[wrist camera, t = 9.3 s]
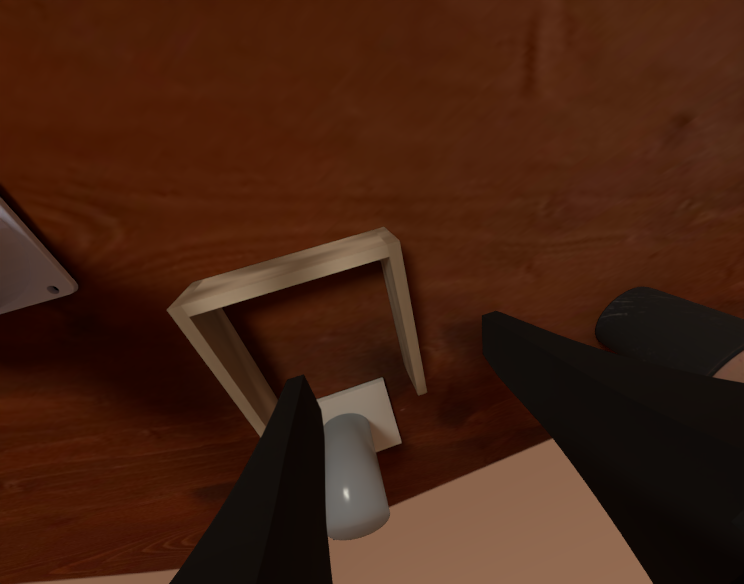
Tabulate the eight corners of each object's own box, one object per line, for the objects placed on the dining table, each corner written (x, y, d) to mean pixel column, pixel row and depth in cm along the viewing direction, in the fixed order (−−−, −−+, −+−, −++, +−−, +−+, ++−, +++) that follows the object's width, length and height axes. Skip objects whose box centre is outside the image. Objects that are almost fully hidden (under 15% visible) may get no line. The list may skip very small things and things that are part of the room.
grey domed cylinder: (327, 411, 24) (334, 506, 17) (375, 414, 26) (399, 501, 19) (310, 461, 27) (311, 559, 20) (355, 460, 28) (369, 551, 22)
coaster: (313, 471, 28) (313, 475, 28) (276, 413, 23) (275, 417, 23) (400, 439, 29) (401, 443, 29) (382, 377, 24) (383, 380, 24)
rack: (273, 409, 23) (268, 448, 20) (192, 282, 17) (166, 309, 14) (412, 363, 24) (427, 392, 21) (383, 227, 18) (399, 240, 15)
